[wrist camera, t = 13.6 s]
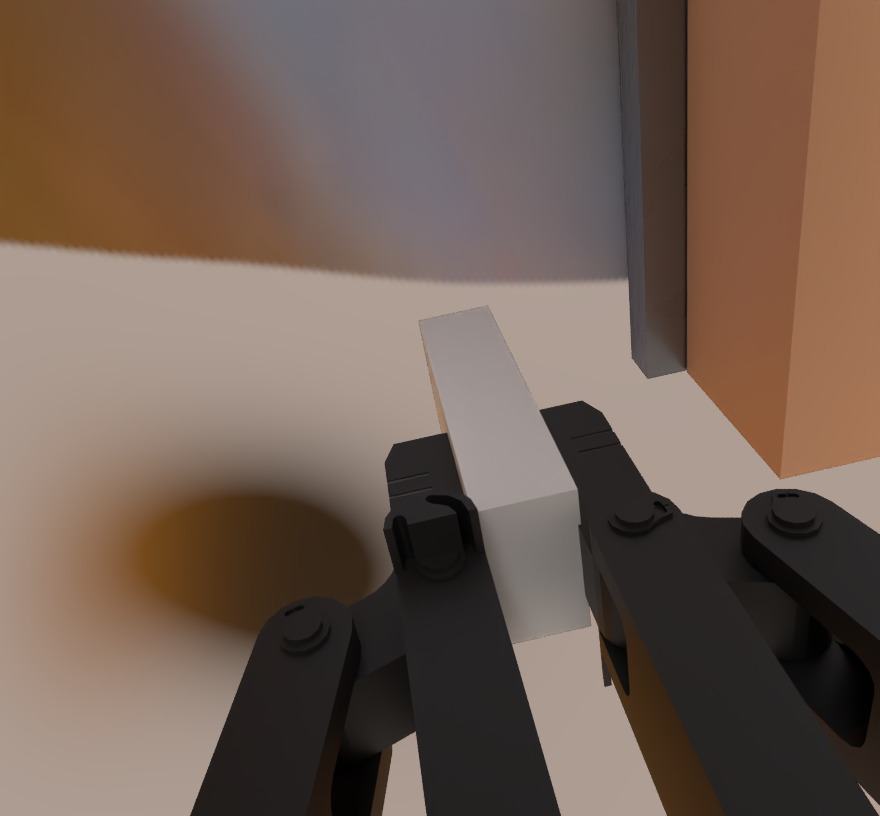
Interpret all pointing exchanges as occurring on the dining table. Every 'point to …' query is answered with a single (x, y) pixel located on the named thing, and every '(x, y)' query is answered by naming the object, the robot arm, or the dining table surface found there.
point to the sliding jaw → (786, 224)
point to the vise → (655, 178)
